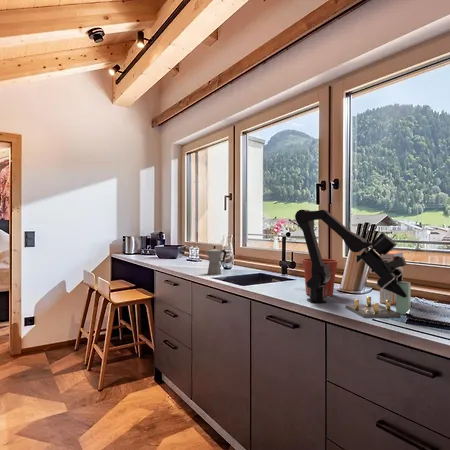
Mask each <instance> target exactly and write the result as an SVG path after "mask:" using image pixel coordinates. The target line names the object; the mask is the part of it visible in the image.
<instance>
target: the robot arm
mask: <svg viewBox="0 0 450 450" xmlns="http://www.w3.org/2000/svg"><path fill="white" fill-rule="evenodd" d="M294 219H295V221H296V224H297V225H298V227H299V228H300V230H301V231H302V233H303V237H304V240H305V244H306V248H307V250H308V251H307V252H308V255H309V259H311V262H312V267H311V275H312V278H311V279H309V280H308V281H307V282H306V284H307V287H308V288H310V295H309V298H306V300H307V301H308V302H309V303H311V304H320V303H322V304H323V303H327V300H325V299H324V298H325V297H324V287H323V286H326V283H327V282H328V281H329V280H330V278H331V275H330V274H332V273H331V272H330V269H329V264H327V265H325V264H324V262H323V261H322V259H323V258H322V255H321V251H320V248H319V244H318V240H317V236H316V233H315V229H314V227H315V221H317V220H318V221H319V220H321V221H323V223H325V225H326V226H328V227H329V228H330V229H331V230H332V231H334V232H335V233H336V234H337V235H338V236H339V237H340V238H341V239H342V240H343V242H344V244H345V245H346V246H347V248H348V249H349V250H350V251H351V252H353V253H360V254H357V255H356V263H360V262H361V261H363V262H364V264H365V265H367V267H369V268H370V270H371V272H372V274H376V276H377V277H378V279H377V281H376V284H377V286H378V287H379V289H380V288H382V287H384V285H386V286H385V287H384V289H386V290H388V291H391V292H393V293H395V294H397V295H399V296H402V297H404V298H405V297H407V295H406V294H405V292H404V291H403V290H402V288H401V287H400V285H399V284H398V282H399V281H403V282H404V271H403V272H402V271H401V270H400V269H397V268H398V267H402V266H403V267H404V266H407V262H406V258H404V256H403V257H400V256H397V257H394V260H393V261H390V262H388V261H387V260H383V259H382V258H381V257H380V256H379V254H380V255H382V254H383V255H386V254H387V253H388V252H390V251H393V249H394V248H396V246H397V243H396V242H395V241H394V240H393V238H392V237H390V236H388V235H387V234H385V233H384V232H381V233H380V234H379V235H378V236H377V237H376V238H375V239H374V240H373V241H372V240H371V241H369V240H366V239H365V238H363V237H362V236H361V235H359V234H356V233H355V232H353V231H352V230H350V229H349V228H348V227H346V226H345V225H344V224H343V223H342V222H341V221H339V220H338V219H337V218H336V217H335V216H334V215H332V214H331V213H330V212H329V211H328V210H326V209H319V210H309V209H298V210H297V211H296V212H295V214H294ZM367 249H369V250H367ZM361 252H362V253H361ZM395 268H396V269H395ZM401 273H403V274H401ZM400 274H401V275H400ZM399 275H400V276H399ZM402 278H403V280H402Z"/></svg>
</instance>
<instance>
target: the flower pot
mask: <svg viewBox="0 0 450 450" xmlns="http://www.w3.org/2000/svg"><path fill="white" fill-rule="evenodd" d="M301 261H302V265H303V271H304V272H303V273H304V284H305V294H306V295H309V296H310V288H308V287H307V284H306V282H307V281H308V280H309V279H311V278H312V275H311V267H312V262H311V259H310V258H301ZM322 261H323V262H324V264H325V265H327V264H329V269H330V272H331V273H332V274H330V275H331V278H330V280H329V281H328V282H327V283H326V286H323V287H324V298H326V297H327V298H328V297H333V296H334V289H335V281H336V271H337V268H338V262H339V260H337V259H331V258H322Z"/></svg>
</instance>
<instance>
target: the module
mask: <svg viewBox="0 0 450 450" xmlns="http://www.w3.org/2000/svg"><path fill="white" fill-rule="evenodd" d="M398 284H399V285H400V287H401V288H402V290H403V291H404V292H405V294H406V295H407V297H405V298H404V297H402V296H399V295H397V294H396V304H395V311H396V312H398V313H400V315H403V314H405V313H406V312H407V311H408V310H409V309H410V310H411V302H412V301H411V299H412V298H411V293H412V292H411V287H412V286H411V282H410V281H404V280H403V281H399V282H398Z"/></svg>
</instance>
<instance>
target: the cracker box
mask: <svg viewBox="0 0 450 450" xmlns="http://www.w3.org/2000/svg"><path fill="white" fill-rule="evenodd" d="M403 253H404V252H402V251H397V250H395V251H393V250H391V251H389V252H388V253H387V254H386V255H383V254H382V255H380V254H378V255H379V256H380V257H381V258H382V259H383V260H387V261H388V262H390V261H393V260H394V257H397V256H400V257H403V258H404V256H403V255H404V254H403ZM403 268H404V266H402V267H398V268H397V269H400V270H401V271H402V272H403V273H401V274H403V275H404V270H403ZM395 269H396V268H395ZM401 274H400V275H401ZM400 275H399V276H400ZM402 280H403V281H404V277H403V278H402ZM385 286H386V285H384V287H385ZM384 287H382V288H380V287H379V303H380V304H385V305H386V300H391V305H396V294H395V293H393V292H391V291H388V290H386V289H384Z"/></svg>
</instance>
